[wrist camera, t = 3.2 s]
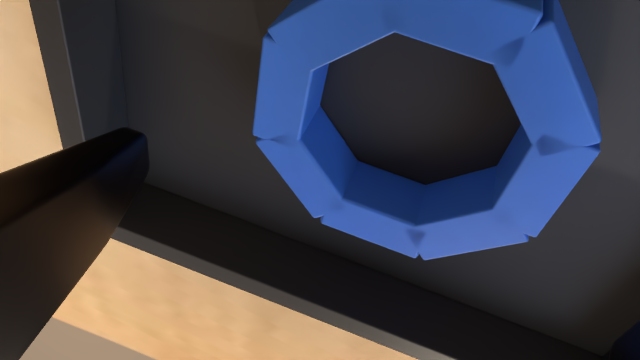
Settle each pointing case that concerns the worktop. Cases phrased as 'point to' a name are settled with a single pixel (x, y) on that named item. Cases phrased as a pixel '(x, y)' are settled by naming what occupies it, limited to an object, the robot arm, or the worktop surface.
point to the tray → (368, 147)
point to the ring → (451, 194)
